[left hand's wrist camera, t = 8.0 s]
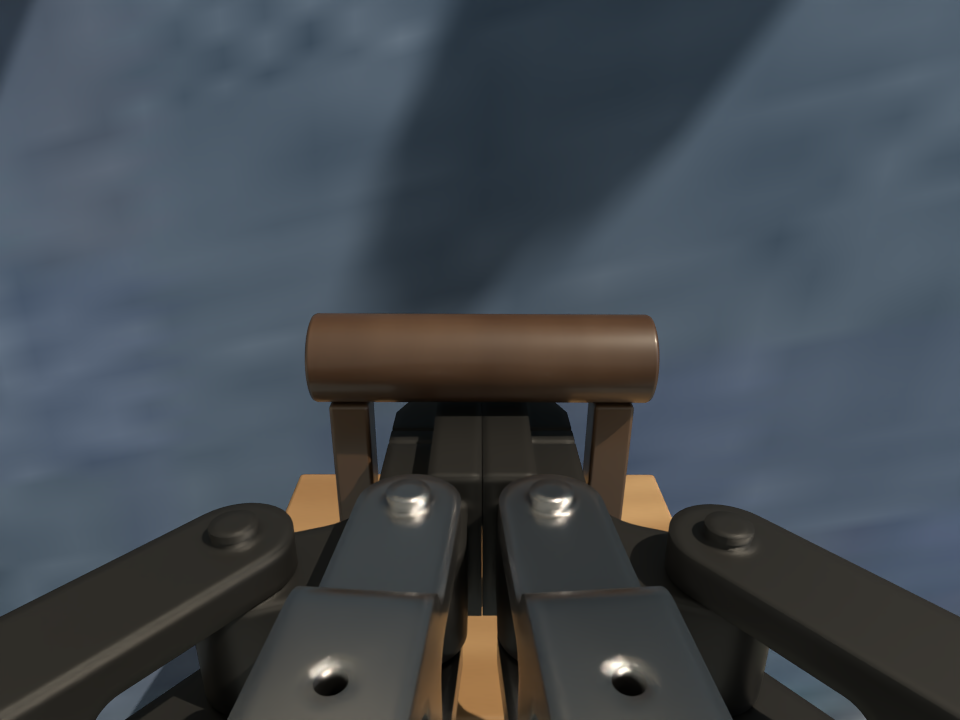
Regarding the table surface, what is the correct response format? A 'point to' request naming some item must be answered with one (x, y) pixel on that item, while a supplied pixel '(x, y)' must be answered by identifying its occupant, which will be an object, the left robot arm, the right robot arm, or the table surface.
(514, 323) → the drawer
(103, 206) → the table surface
